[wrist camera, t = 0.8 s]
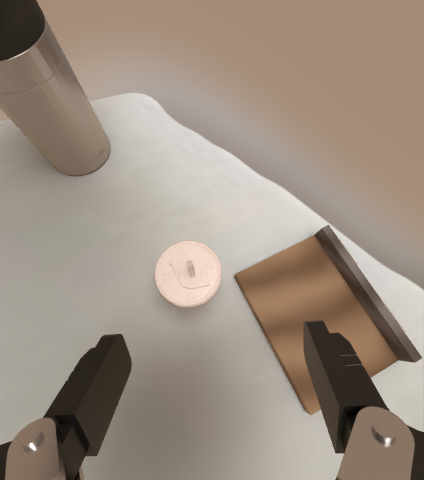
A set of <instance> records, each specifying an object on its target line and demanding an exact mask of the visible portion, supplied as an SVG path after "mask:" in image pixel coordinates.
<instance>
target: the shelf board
mask: <svg viewBox="0 0 424 480" xmlns="http://www.w3.org/2000/svg"><path fill="white" fill-rule="evenodd" d="M234 277H235V279H236V281H237V283H238V285H239V287H240V288H241V290H242V292H243V294H244V296H245V298H246V300H247V302H248V304H249V305H250V307H251V309H252V311H253V313H254V315H255V317H256V319H257V320H258V322H259V324H260V326H261V328H262V330H263V332H264V334H265V336H266V337H267V339H268V341H269V343H270V345H271V347H272V349H273V351H274V352H275V354H276V356H277V358H278V360H279V362H280V364H281V366H282V368H283V369H284V371H285V373H286V375H287V377H288V379H289V381H290V383H291V384H292V386H293V388H294V390H295V392H296V394H297V396H298V398H299V400H300V401H301V403H302V405H303V407H304V409H305V411H306V412H307V413H308V414H310V415H312V414H314V413H315V412H317V411H319V410H320V409H321V408H320V404H319V401H318V398H317V395H316V392H315V389H314V386H313V383H312V380H311V377H310V374H309V371H308V368H307V365H306V361H305V357H304V348H303V323H304V321H318V320H323V321H324V323H325V325H326V327H327V329H328V331H329V333H340V334H341V335H342V336H343V337H345V338H346V339H347V340H348V341H349V342H350V343H351V345H352V347H353V348H354V350H355V352H356V354H357V356H358V357H359V359H360V361H361V363H362V366H364V368H365V370H366V371H367V373H368V375H369V377H370V378H371V377H373V376H374V375H376V374H377V373H379V372H381V371H382V370H384V369H385V368H387V367H389V366H390V365H392V364H393V363H395V362H397V361H398V360H400V361H408V362H417V361H418V360H420V359H421V358H422V357H421V355H420V354H419V353H418V351H417V350H416V348H415V347H414V345H413V344H412V343H411V341H410V340H409V338H408V337H407V335H406V334H405V332H404V330H403V329H402V327H401V326H400V324H399V323H398V322H397V320H396V319H395V317H394V316H393V315H392V313H391V312H390V310H389V309H388V307H387V306H386V305H385V303H384V302H383V301H382V300H381V299H380V297H379V296H378V294H377V293H376V291H375V290H374V289H373V287H372V286H371V284H370V283H369V281H368V280H367V279H366V277H365V276H364V274H363V273H362V272H361V270H360V269H359V267H358V266H357V263H356V262H355V261H354V259H353V258H352V256H351V255H350V254H349V252H348V251H347V249H346V248H345V246H344V245H343V244H342V242H341V241H340V240H339V239H338V237H337V236H336V235H335V233H334V232H333V230H332V229H331V228H330V226H329V225H327V226H325V227H323V228H322V229H321V230H320V231H318V232H317V233H316V234H315V235H314V236H312V237H310V238H308V239H306V240H304V241H302V242H300V243H298V244H296V245H294V246H292V247H290V248H288V249H286V250H284V251H282V252H280V253H278V254H276V255H274V256H272V257H270V258H268V259H265V260H263V261H261V262H259V263H257V264H255V265H253V266H251V267H249V268H247V269H245V270H243V271H241V272H239V273H237V274H235V276H234Z"/></svg>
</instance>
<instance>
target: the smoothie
mask: <svg viewBox="0 0 424 480" xmlns="http://www.w3.org/2000/svg"><path fill="white" fill-rule="evenodd" d="M155 281H156V285H157V287H158V289H159V291H160V292H161V294H162V296H163V297H164V298H165V299H166V300H168V301H169V302H170V303H172V304H174V305H176V306H180V307H185V308H188V307H196V306H199V305H201V304H204V303H205V302H207V301H208V300H209V299H211V298H212V296H213V295H214V294H215V293H216V291H217V289H218V287H219V285H220V281H221V267H220V263H219V260H218V258H217V256H216V255H215V253H214V252H213V251H212V250H211V249H210V248H209V247H207V246H206V245H204V244H202V243H199V242H195V241H183V242H179V243H176V244H174V245H172V246H170V247H169V248H167V249H166V250H165V251H164V252H163V253H162V255H161V256H160V258H159V259H158V262H157V264H156V268H155Z"/></svg>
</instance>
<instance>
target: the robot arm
mask: <svg viewBox="0 0 424 480" xmlns="http://www.w3.org/2000/svg"><path fill="white" fill-rule="evenodd" d="M0 108H1V109H2V111H3V112H4V113H5V114H6V115H7V116H8V117H9V118H10V119H11V120H12V121H13V122H14V124H15V125H16V126H17V127H18V128H19V129H20V130H21V131H22V132H23V133H24V134H25V135H26V136H27V138H28V139H29V140H30V141H31V142H32V143H33V144H34V145H35V146H36V147H37V148H38V150H39V151H40V152H41V153H42V154H43V155H44V156H45V157H46V158H47V159H48V160H49V161H50V162H51V164H52V165H53V166H54V167H55V168H56V169H57V170H59V171H60V172H62V173H64V174H67V175H74V176H75V175H84V174H88V173H90V172H93V171H95V170H96V169H98V168H99V167H100V166H101V165H102V164H104V162H105V161H106V160H107V158H108V156H109V153H110V142H109V140H108V138H107V136H106V134H105V132H104V130H103V128H102V126H101V124H100V122H99V120H98V118H97V116H96V114H95V112H94V110H93V108H92V107H91V105H90V103H89V101H88V99H87V97H86V95H85V93H84V91H83V89H82V87H81V85H80V83H79V82H78V80H77V78H76V76H75V74H74V72H73V70H72V68H71V66H70V64H69V62H68V60H67V59H66V57H65V55H64V53H63V51H62V49H61V47H60V45H59V43H58V42H57V40H56V38H55V36H54V34H53V32H52V30H51V28H50V26H49V24H48V22H47V20H46V18H45V16H44V14H43V12H42V10H41V8H40V7H39V5H38V3H37V1H36V0H0ZM303 348H304V357H305V361H306V365H307V368H308V371H309V374H310V377H311V380H312V383H313V386H314V389H315V392H316V395H317V398H318V401H319V404H320V408H321V411H322V414H323V417H324V420H325V423H326V426H327V429H328V432H329V435H330V438H331V441H332V444H333V447H334V450H335V453H344V456H343V460H342V463H341V466H340V469H339V472H338V475H337V477H336V479H335V480H424V432H421V431H418V430H416V429H414V428H411V427H410V426H408V425H406V424H405V423H404V422H403V421H402V420H401V419H400V418H399V417H398V416H396V415H395V414H393V413H392V412H390V410H389V409H388V408H387V406H386V405H385V403H384V401H383V400H382V398H381V396H380V394H379V392H378V391H377V389H376V387H375V385H374V384H373V382H372V380H371V378H370V377H369V375H368V373H367V371H366V370H365V368H364V366H362V363H361V361H360V359H359V357H358V356H357V354H356V352H355V350H354V348H353V347H352V345H351V343H350V342H349V341H348V340H347V339H346V338H345V337H343V336H342V335H341V334H340V333H329V331H328V329H327V327H326V325H325V323H324V321H323V320H318V321H304V323H303ZM131 365H132V363H131V357H130V354H129V351H128V349H127V346H126V343H125V340H124V338H123V336H122V335H121V334H112V335H104V336H102V337H101V339H100V340H99V342H98V344H97V345H96V347H95V348H91V349H90V350H89V351H88V352H87V353H86V354H85V355H84V356H83V357H82V358H81V359H80V361H79V362H78V364H77V365H76V367H75V368H74V371H72V373H71V375H70V376H69V378H68V380H67V381H66V382H65V384H64V386H63V387H62V389H61V390H60V392H59V393H58V395H57V396H56V398H55V400H54V401H53V403H52V404H51V406H50V407H49V409H48V411H47V412H46V414H45V415H44V417H43V418H42V419H38V420H36V421H34V422H32V423H30V424H29V425H27V426H26V427H25V428H24V429H23V430H21V431H20V432H19V433H18V435H17V436H16V437H15V438H14V440H13V441H11V442H8V443H5V444H2V445H0V480H84V476H83V470H82V467H81V465H82V462H83V460H84V458H85V456H97V455H98V452H99V450H100V447H101V445H102V442H103V440H104V437H105V435H106V432H107V430H108V427H109V425H110V422H111V420H112V417H113V415H114V412H115V410H116V407H117V405H118V402H119V400H120V397H121V395H122V392H123V390H124V387H125V385H126V382H127V380H128V377H129V375H130V372H131Z"/></svg>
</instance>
